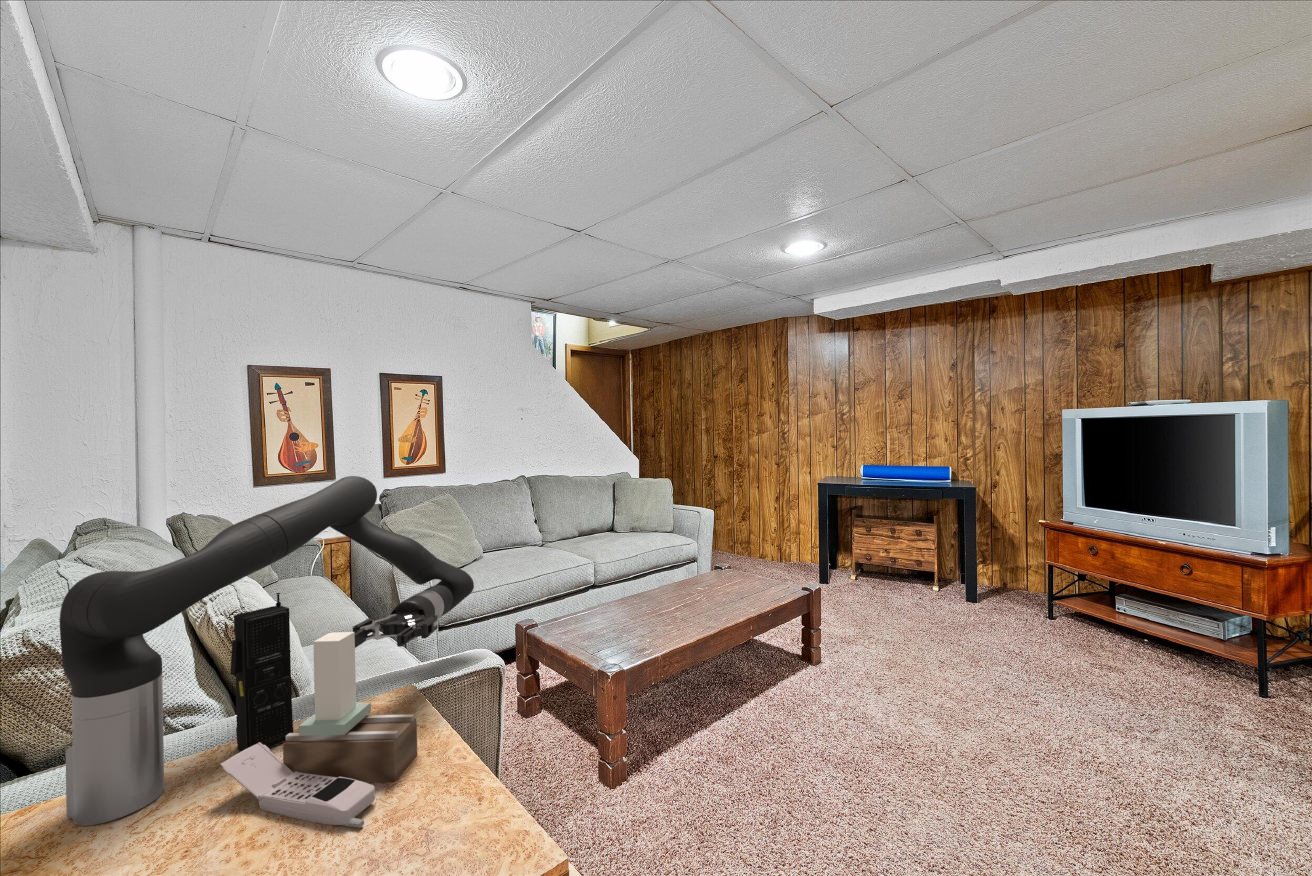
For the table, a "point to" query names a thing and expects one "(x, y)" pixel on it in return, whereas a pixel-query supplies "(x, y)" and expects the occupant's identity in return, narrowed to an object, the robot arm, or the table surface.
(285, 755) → the walnut track
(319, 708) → the white pillar on base
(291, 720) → the portable radio
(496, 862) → the table surface
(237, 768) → the mobile phone
